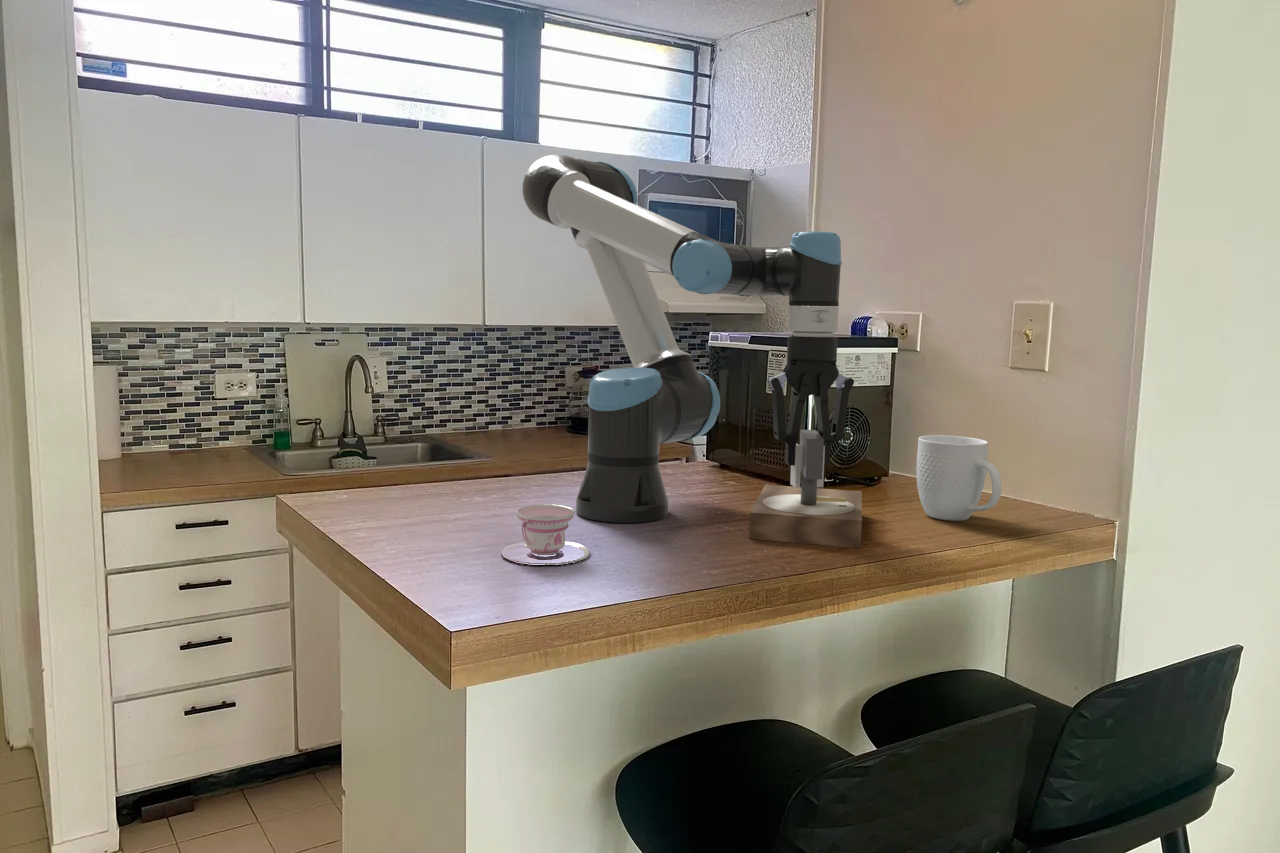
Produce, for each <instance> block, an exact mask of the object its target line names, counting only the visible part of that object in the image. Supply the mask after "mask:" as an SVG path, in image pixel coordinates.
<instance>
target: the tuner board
mask: <svg viewBox="0 0 1280 853" xmlns="http://www.w3.org/2000/svg"><path fill="white" fill-rule="evenodd" d="M862 493H863V492H862V491H861V490H850V489H849V490H848V489H847V490H846V489H831V488H822V487H817V497H828V498H846V502H828V501H816V504H815V505H805V504H801V503H800V502H801V486H800V488H795V487H794V486H792V485H787V486H786V485H777V484H776V485H775V484H764V486H763V488H762V490H761V491H760V494H759V496H758V497H757V499H756V501H755V503H754V504H753V506H752V507H751V510H750V511H749V530H748V531H749V532H748V535H749V536H748V539H749V540H757V541H758V540H759V541H771V542H773V541H774V542H783V543H784V542H785V543H795V544H807V545H808V544H809V545H820V546H822V545H823V546H830V547H831V546H832V547H845V548H856V549H857V548H858V549H861V545H862V544H861V542H862V527H863V526H862V524H863V501H862V500H863V498H862V497H863V496H862Z"/></svg>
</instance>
